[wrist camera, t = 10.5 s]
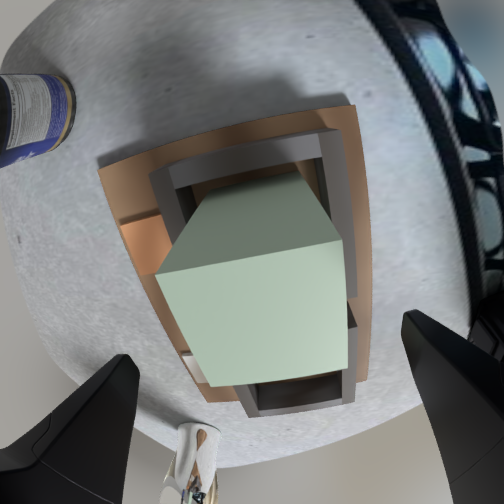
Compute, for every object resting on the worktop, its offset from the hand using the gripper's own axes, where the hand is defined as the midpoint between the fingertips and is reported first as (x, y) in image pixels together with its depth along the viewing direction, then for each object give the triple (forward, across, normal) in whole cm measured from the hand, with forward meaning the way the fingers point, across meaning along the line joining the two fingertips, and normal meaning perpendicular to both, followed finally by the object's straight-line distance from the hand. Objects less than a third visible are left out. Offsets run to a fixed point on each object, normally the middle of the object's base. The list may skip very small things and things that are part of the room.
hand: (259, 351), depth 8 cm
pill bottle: (+12, +13, -12) cm, 22 cm away
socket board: (+12, +1, +6) cm, 13 cm away
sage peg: (+11, 0, 0) cm, 11 cm away
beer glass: (+12, +14, +28) cm, 34 cm away
